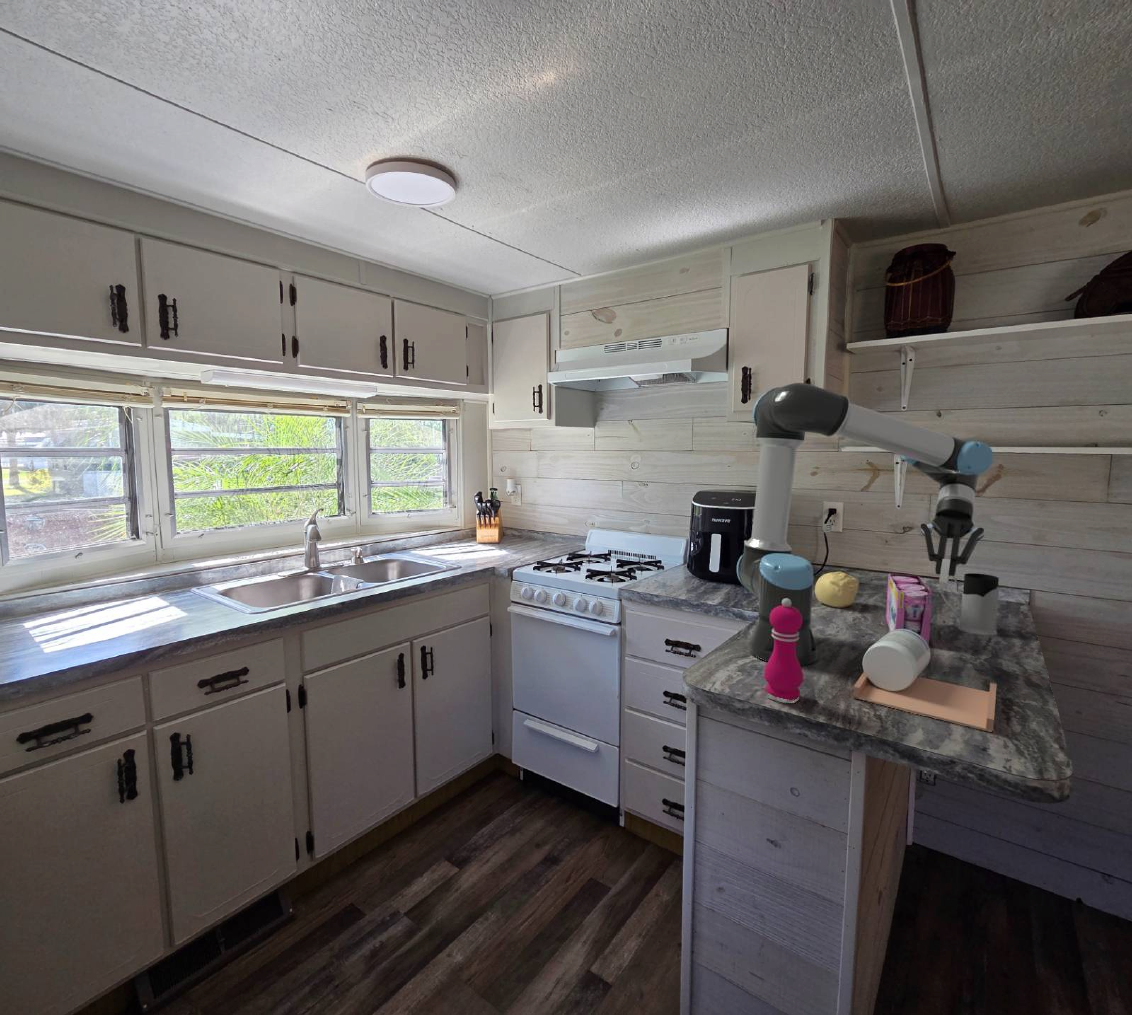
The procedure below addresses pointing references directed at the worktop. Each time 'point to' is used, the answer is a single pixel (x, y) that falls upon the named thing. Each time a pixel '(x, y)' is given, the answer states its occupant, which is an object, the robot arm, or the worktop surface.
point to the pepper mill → (784, 653)
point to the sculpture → (836, 589)
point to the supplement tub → (896, 659)
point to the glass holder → (978, 603)
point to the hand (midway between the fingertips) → (943, 585)
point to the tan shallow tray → (935, 701)
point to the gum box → (909, 604)
